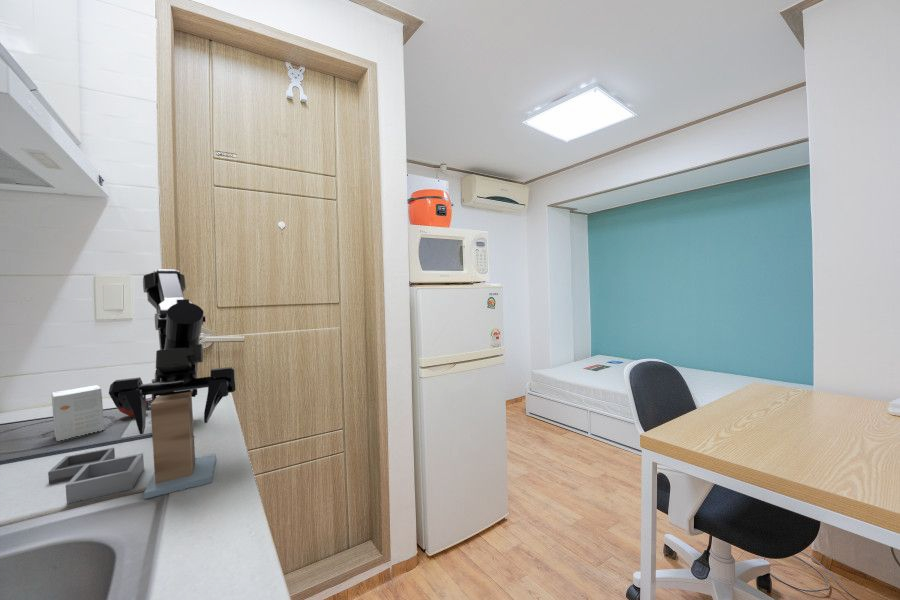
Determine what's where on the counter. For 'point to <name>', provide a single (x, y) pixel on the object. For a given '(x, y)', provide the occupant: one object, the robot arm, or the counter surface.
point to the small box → (77, 412)
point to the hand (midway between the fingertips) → (174, 427)
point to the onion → (127, 411)
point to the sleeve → (105, 478)
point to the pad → (184, 478)
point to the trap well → (77, 464)
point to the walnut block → (173, 436)
